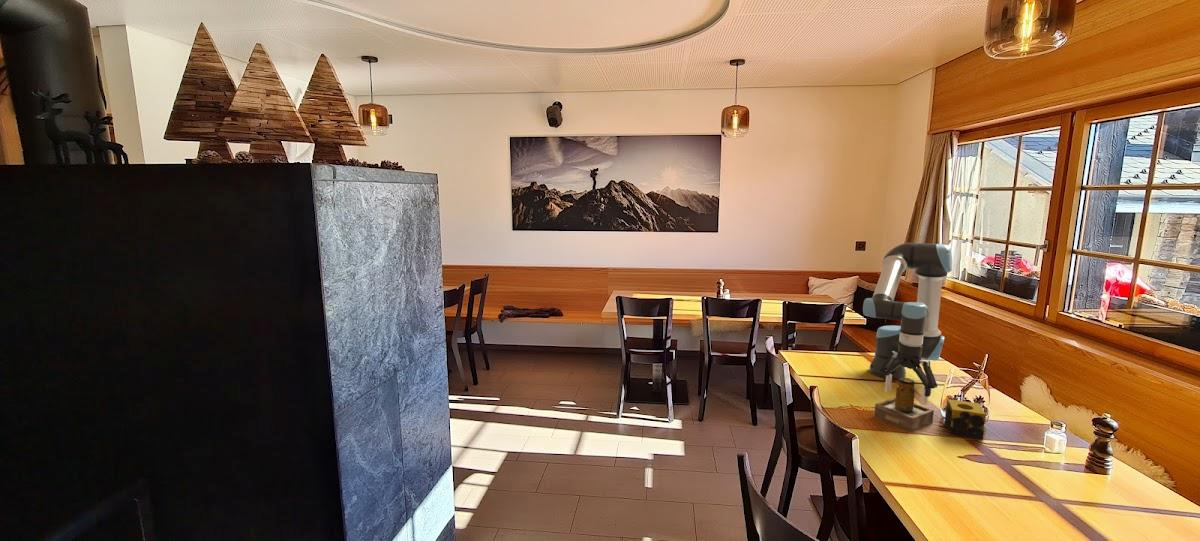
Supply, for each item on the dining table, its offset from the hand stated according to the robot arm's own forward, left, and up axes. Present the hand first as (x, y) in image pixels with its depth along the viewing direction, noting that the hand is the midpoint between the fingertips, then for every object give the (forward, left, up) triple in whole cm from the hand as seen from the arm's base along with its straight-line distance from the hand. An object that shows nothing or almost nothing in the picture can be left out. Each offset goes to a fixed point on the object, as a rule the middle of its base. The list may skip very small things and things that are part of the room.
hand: (905, 397), depth 187 cm
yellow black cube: (-10, +16, -9) cm, 21 cm away
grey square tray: (0, 0, -9) cm, 9 cm away
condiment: (0, +1, -5) cm, 5 cm away
